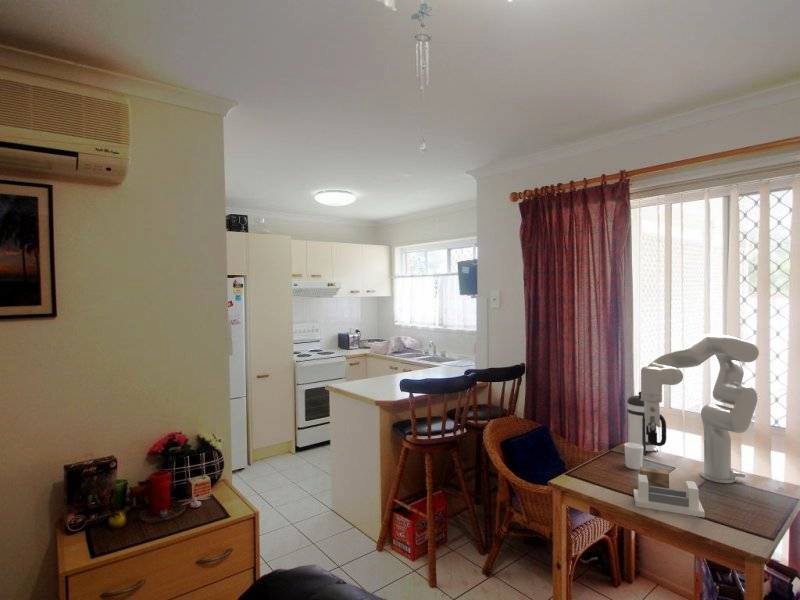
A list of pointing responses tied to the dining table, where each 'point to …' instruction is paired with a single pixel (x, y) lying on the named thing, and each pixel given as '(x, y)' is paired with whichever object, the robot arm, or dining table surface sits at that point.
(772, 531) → the dining table surface
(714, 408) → the robot arm
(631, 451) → the white cup
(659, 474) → the brown wooden block
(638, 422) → the coffee press
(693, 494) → the track frame
